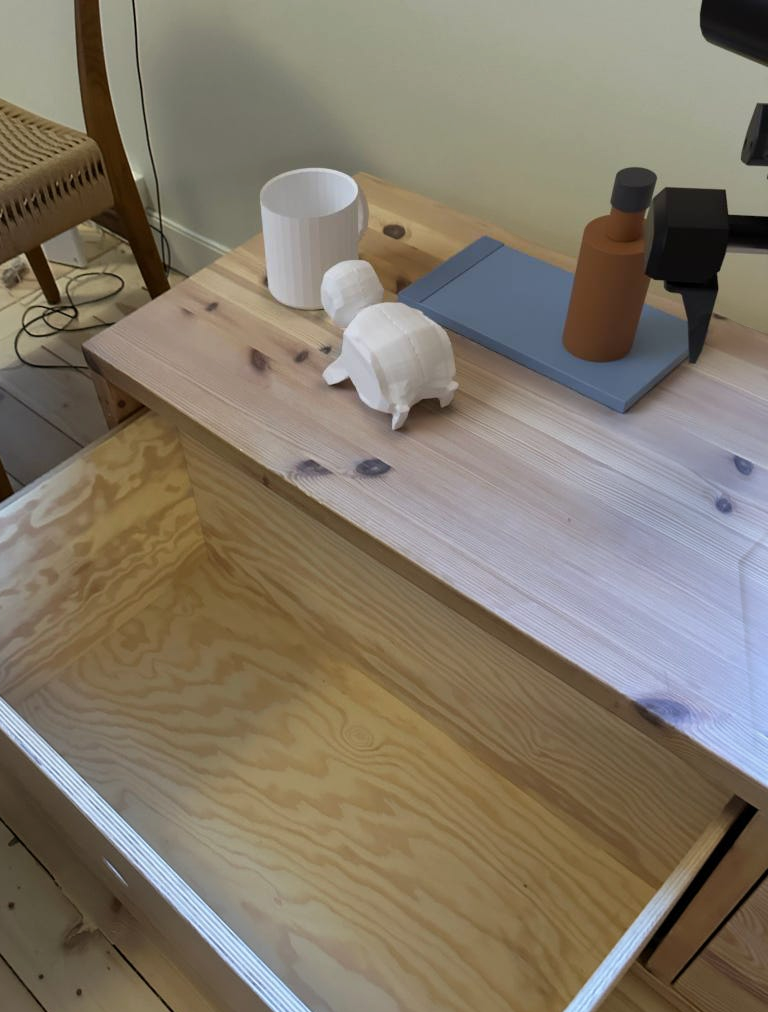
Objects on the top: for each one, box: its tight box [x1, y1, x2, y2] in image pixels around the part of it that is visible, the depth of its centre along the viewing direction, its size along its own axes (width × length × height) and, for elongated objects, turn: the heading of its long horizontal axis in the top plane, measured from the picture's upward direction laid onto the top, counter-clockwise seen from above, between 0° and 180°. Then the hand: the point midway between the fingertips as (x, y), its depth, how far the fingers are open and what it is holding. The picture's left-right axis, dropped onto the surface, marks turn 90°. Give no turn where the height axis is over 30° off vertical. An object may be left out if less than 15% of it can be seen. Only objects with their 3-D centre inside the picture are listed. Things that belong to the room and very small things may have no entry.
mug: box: [259, 167, 370, 311], centre depth 86 cm, size 12×9×9 cm
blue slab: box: [397, 234, 709, 414], centre depth 83 cm, size 25×13×1 cm, turn 45°
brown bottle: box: [562, 166, 658, 362], centre depth 73 cm, size 6×6×14 cm
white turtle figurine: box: [321, 259, 460, 431], centre depth 77 cm, size 9×8×15 cm
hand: (766, 365), depth 58 cm, fingers open, 9 cm apart
